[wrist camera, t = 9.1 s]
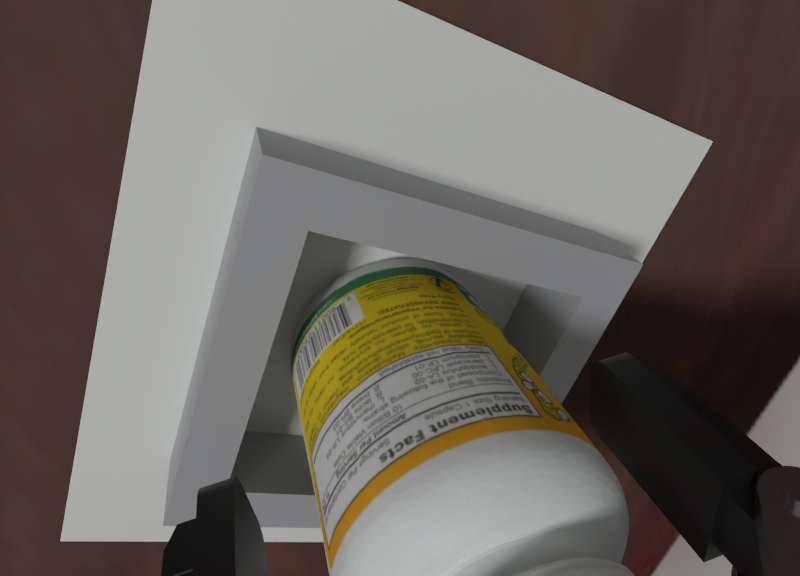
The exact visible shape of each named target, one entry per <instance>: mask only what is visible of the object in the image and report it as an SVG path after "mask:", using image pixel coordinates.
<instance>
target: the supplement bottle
mask: <svg viewBox="0 0 800 576" xmlns="http://www.w3.org/2000/svg"><path fill="white" fill-rule="evenodd" d="M290 365H291V372H292V379H293V383H294V388H295V393H296V399H297V404H298V409H299V414H300V420H301V425H302V431H303V436H304V441H305V447H306V452H307V457H308V462H309V467H310V472H311V477H312V483H313V488H314V493H315V498H316V503H317V509H318V514H319V519H320V525H321V530H322V536H323V542H324V547H325V553H326V559H327V565H328V570H329V575H330V576H635V575H634V574H633V573H632V572H631V571H630V570H629V569H628V568H626V567H625V566H623V565H622V564H621V561H622V558H623V555H624V552H625V548H626V544H627V538H628V527H629V520H628V509H627V503H626V499H625V496H624V493H623V490H622V487H621V485H620V483H619V481H618V479H617V477H616V475H615V473H614V472H613V470H612V468H611V467H610V466H609V464H608V463H607V462H606V460H605V459H604V458H603V456H602V455H601V454H600V452H599V451H598V450H597V449H596V447H595V446H594V445H593V443H592V442H591V441H590V440H589V438H588V437H587V436H586V434H585V433H584V432H583V431H582V429H581V428H580V427H579V426H578V424H577V423H576V422H575V421H574V420H573V418H572V417H571V416H570V415H569V413H568V412H567V411H566V409H565V408H564V407H563V406H562V404H561V403H560V401H559V400H558V399H557V398H556V397H555V396H554V395H553V393H552V392H551V391H550V390H549V388H548V387H547V386H546V384H545V383H544V382H543V381H542V379H541V378H540V377H539V376H538V375H537V373H536V372H535V371H534V370H533V369H532V367H531V366H530V365H529V364H528V362H527V361H526V360H525V359H524V358H523V356H522V355H521V354H520V353H519V352H518V351H517V350H516V349H515V348H514V346H513V345H512V343H511V342H510V341H509V339H508V338H507V337H506V335H505V334H504V333H503V331H502V330H501V329H500V328H499V327H498V326H497V324H496V323H495V322H494V321H493V320H492V318H491V317H490V316H489V314H488V313H487V312H486V310H485V309H484V308H483V307H482V306H481V305H480V304H479V302H478V301H477V300H476V298H475V297H474V296H473V295H472V294H471V293H470V292H469V291H468V290H467V289H466V288H465V287H464V286H463V285H462V284H461V283H460V282H459V281H458V280H457V279H455V278H454V277H453V276H452V275H450V274H449V273H448V272H446V271H445V270H443V269H441V268H439V267H437V266H435V265H432V264H430V263H427V262H423V261H419V260H414V259H391V260H384V261H379V262H374V263H371V264H368V265H364V266H361V267H358V268H355V269H353V270H350V271H348V272H347V273H345V274H343V275H342V276H340V277H338V278H337V279H335V280H334V281H333V282H332V283H330V284H329V285H328V286H326V287H325V288H324V289H323V290H322V291H321V292H319V293H318V294H317V295H316V297H315V298H314V299H313V300H312V301H311V303H310V304H309V305H308V306H307V308H306V309H305V311H304V313H303V314H302V316H301V318H300V320H299V322H298V324H297V326H296V328H295V331H294V334H293V338H292V343H291V350H290Z"/></svg>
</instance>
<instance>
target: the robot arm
mask: <svg viewBox="0 0 800 576" xmlns="http://www.w3.org/2000/svg"><path fill="white" fill-rule="evenodd" d="M590 416H591V420H592V423H593V426H594V428H595V430H596V432H597V434H598V435H599V437H600V438H601V439H602V440H603V442H604V443H605V444H606V445H607V446H608V448H609V449H610V450H611V451H612V452H613V454H614V455H615V456H616V457H617V458H618V460H619V461H620V462H621V463H622V464H623V466H624V467H625V468H626V469H627V470H628V472H629V473H630V474H631V475H632V476H633V478H634V479H635V480H636V481H637V482H638V484H639V485H640V486H641V487H642V488H643V490H644V491H645V492H646V493H647V495H648V496H649V497H650V498H651V499H652V501H653V502H654V503H655V504H656V505H657V507H658V508H659V509H660V510H661V511H662V513H663V514H664V515H665V516H666V517H667V519H668V520H669V521H670V522H671V523H672V525H673V526H674V527H675V528H676V529H677V531H678V532H679V533H680V534H681V535H682V537H683V538H684V539H685V540H686V541H687V543H688V544H689V545H690V546H691V547H692V549H693V550H694V551H695V552H696V553H697V555H698V556H699V557H700V558H701V559H702V561H703V562H706V561H708V560H711V559H713V558H716V557H718V556H721V555H724V556H725V557H726V558H727V559H728V560H729V562H730V563H731V564H732V565H733V567H732V574H731V575H732V576H800V468H799V467H792V466H782V465H781V464H779V463H778V462H777V461H775V460H774V459H773V458H772V457H771V456H770V455H768V454H767V453H766V452H765V451H764V450H763V449H761V448H760V447H759V446H758V445H757V444H756V443H755V442H753V441H752V440H751V439H750V438H749V437H748V436H746V435H745V434H744V433H743V432H742V431H741V430H740V429H738V428H737V427H736V426H735V425H734V424H733V423H731V422H730V421H729V420H728V419H727V418H726V417H724V416H723V415H722V414H721V413H720V412H716V411H715V408H714V407H713V406H712V405H711V404H709V403H708V402H707V401H706V400H705V399H704V398H702V399H701V398H700V396H699V394H698V393H697V392H696V391H694V390H693V389H692V388H691V387H690V386H689V385H687V384H686V383H685V382H684V381H683V380H682V379H680V378H678V377H676V376H674V375H672V374H670V373H668V372H665V371H663V370H661V369H659V368H657V367H656V368H653V369H650V370H648V369H647V368H646V367H645V366H644V365H643V364H642V363H641V362H640V361H639V360H637V359H636V358H635V357H634V356H633V355H631V354H630V353H622V354H619V355H615V356H612V357H609V358H606V359H603V360H600V361H597V362H595V363H594V364H593V366H592V374H591V394H590ZM161 576H267V563H266V551H265V544H264V539H263V535H262V531H261V527H260V524H259V522H258V519H257V517H256V515H255V513H254V511H253V508H252V506H251V504H250V502H249V500H248V497H247V495H246V493H245V491H244V489H243V486H242V484H241V482H240V480H239V479H238V477H233V478H230V479H227V480H224V481H220V482H217V483H214V484H211V485H208V486H205V487H202V488H199V490H198V493H197V509H196V518H195V519H192V520H189V521H186V522H183V523H180V524H177V525H176V528H175V530H174V532H173V534H172V536H171V538H170V540H169V542H168V544H167V546H166V548H165V550H164V554H163V563H162V573H161Z"/></svg>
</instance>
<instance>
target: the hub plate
mask: <svg viewBox="0 0 800 576" xmlns="http://www.w3.org/2000/svg"><path fill="white" fill-rule="evenodd" d="M712 143H713V141H710V140H708V139H706V138H704V137H701V136H699V135H697V134H695V133H693V132H690V131H688V130H686V129H684V128H681V127H679V126H677V125H675V124H672V123H670V122H668V121H666V120H664V119H661V118H659V117H657V116H655V115H652V114H650V113H648V112H646V111H643V110H641V109H639V108H637V107H634V106H632V105H630V104H628V103H626V102H623V101H621V100H619V99H617V98H614V97H612V96H610V95H608V94H605V93H603V92H601V91H599V90H597V89H594V88H592V87H590V86H588V85H585V84H583V83H581V82H579V81H576V80H574V79H572V78H570V77H568V76H565V75H563V74H561V73H559V72H556V71H554V70H552V69H550V68H547V67H545V66H543V65H541V64H539V63H536V62H534V61H532V60H530V59H527V58H525V57H523V56H521V55H518V54H516V53H514V52H512V51H509V50H507V49H505V48H503V47H501V46H498V45H496V44H494V43H492V42H489V41H487V40H485V39H483V38H480V37H478V36H476V35H474V34H472V33H469V32H467V31H465V30H463V29H460V28H458V27H456V26H454V25H451V24H449V23H447V22H445V21H443V20H440V19H438V18H436V17H434V16H431V15H429V14H427V13H425V12H422V11H420V10H418V9H416V8H413V7H411V6H409V5H407V4H405V3H402V2H400V1H398V0H152V6H151V12H150V17H149V23H148V29H147V35H146V41H145V47H144V53H143V59H142V64H141V70H140V76H139V82H138V88H137V94H136V100H135V105H134V111H133V117H132V123H131V129H130V135H129V141H128V147H127V152H126V158H125V164H124V170H123V176H122V182H121V188H120V193H119V199H118V205H117V211H116V217H115V223H114V229H113V235H112V240H111V246H110V252H109V258H108V264H107V270H106V276H105V281H104V287H103V293H102V299H101V305H100V311H99V317H98V323H97V328H96V334H95V340H94V346H93V352H92V358H91V364H90V369H89V375H88V381H87V387H86V393H85V399H84V405H83V411H82V416H81V422H80V428H79V434H78V440H77V446H76V452H75V457H74V463H73V469H72V475H71V481H70V487H69V493H68V499H67V504H66V510H65V516H64V522H63V528H62V534H61V540H60V541H153V542H169V540H170V538H171V536H172V534H173V532H174V530H175V528H176V525H177V524H180V523H183V522H186V521H189V520H192V519H195V518H196V509H197V493H198V490H199V488H202V487H205V486H208V485H211V484H214V483H217V482H220V481H224V480H227V479H230V478H233V477H238V479H239V480H240V482H241V484H242V486H243V489H244V491H245V493H246V495H247V497H248V500H249V502H250V504H251V506H252V508H253V511H254V513H255V515H256V517H257V519H258V522H259V524H260V527H261V531H262V535H263V539H264V542H323V536H322V530H321V525H320V519H319V514H318V509H317V503H316V498H315V493H314V488H313V483H312V477H311V472H310V467H309V462H308V457H307V452H306V447H305V441H304V436H303V431H302V425H301V420H300V414H299V409H298V404H297V399H296V393H295V388H294V383H293V379H292V372H291V365H290V350H291V343H292V338H293V334H294V331H295V328H296V326H297V324H298V322H299V320H300V318H301V316H302V314H303V313H304V311H305V309H306V308H307V306H308V305H309V304H310V303H311V301H312V300H313V299H314V298H315V297H316V295H317V294H318V293H319V292H321V291H322V290H323V289H324V288H325V287H326V286H328V285H329V284H330V283H332V282H333V281H334V280H335V279H337V278H338V277H340V276H342V275H343V274H345V273H347V272H348V271H350V270H353V269H355V268H358V267H361V266H364V265H368V264H371V263H374V262H379V261H384V260H391V259H414V260H419V261H423V262H427V263H430V264H432V265H435V266H437V267H439V268H441V269H443V270H445V271H446V272H448V273H449V274H450V275H452V276H453V277H454V278H455V279H457V280H458V281H459V282H460V283H461V284H462V285H463V286H464V287H465V288H466V289H467V290H468V291H469V292H470V293H471V294H472V295H473V296H474V297H475V298H476V300H477V301H478V302H479V304H480V305H481V306H482V307H483V308H484V309H485V310H486V312H487V313H488V314H489V316H490V317H491V318H492V320H493V321H494V322H495V323H496V324H497V326H498V327H499V328H500V329H501V330H502V331H503V333H504V334H505V335H506V337H507V338H508V339H509V341H510V342H511V343H512V345H513V346H514V348H515V349H516V350H517V351H518V352H519V353H520V354H521V355H522V356H523V358H524V359H525V360H526V361H527V362H528V364H529V365H530V366H531V367H532V369H533V370H534V371H535V372H536V373H537V375H538V376H539V377H540V378H541V379H542V381H543V382H544V383H545V384H546V386H547V387H548V388H549V390H550V391H551V392H552V393H553V395H554V396H555V397H556V398H557V399H558V400H559V401H560V403H561V404H562V402H563V401H564V399H565V397H566V396H567V394H568V392H569V391H570V389H571V387H572V385H573V384H574V382H575V380H576V379H577V377H578V375H579V373H580V372H581V370H582V368H583V367H584V365H585V363H586V362H587V360H588V358H589V356H590V355H591V353H592V351H593V350H594V348H595V346H596V344H597V343H598V341H599V339H600V338H601V336H602V334H603V332H604V331H605V329H606V327H607V326H608V324H609V322H610V321H611V319H612V317H613V315H614V314H615V312H616V310H617V309H618V307H619V305H620V303H621V302H622V300H623V298H624V297H625V295H626V293H627V292H628V290H629V288H630V286H631V285H632V283H633V281H634V280H635V278H636V276H637V274H638V273H639V271H640V269H641V268H642V266H643V264H642V262H643V261H644V259H645V257H646V256H647V254H648V252H649V250H650V249H651V247H652V245H653V244H654V242H655V240H656V239H657V237H658V235H659V233H660V232H661V230H662V228H663V227H664V225H665V223H666V221H667V220H668V218H669V216H670V215H671V213H672V211H673V209H674V208H675V206H676V204H677V203H678V201H679V199H680V197H681V196H682V194H683V192H684V191H685V189H686V187H687V185H688V184H689V182H690V180H691V179H692V177H693V175H694V173H695V172H696V170H697V168H698V167H699V165H700V163H701V161H702V160H703V158H704V156H705V155H706V153H707V151H708V149H709V148H710V146H711V144H712Z"/></svg>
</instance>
